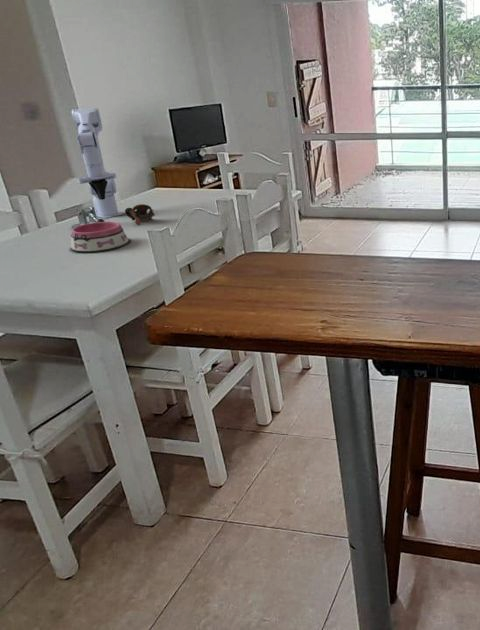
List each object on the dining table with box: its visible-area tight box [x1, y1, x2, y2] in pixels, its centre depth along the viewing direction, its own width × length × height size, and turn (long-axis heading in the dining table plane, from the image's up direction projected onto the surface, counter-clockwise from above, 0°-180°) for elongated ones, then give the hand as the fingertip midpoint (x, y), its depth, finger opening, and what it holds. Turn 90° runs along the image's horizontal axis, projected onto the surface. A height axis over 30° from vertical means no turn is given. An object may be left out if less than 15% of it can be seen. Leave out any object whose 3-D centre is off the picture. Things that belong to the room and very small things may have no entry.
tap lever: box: [82, 207, 106, 222], centre depth 226 cm, size 13×3×3 cm, turn 56°
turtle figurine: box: [124, 203, 156, 226], centre depth 234 cm, size 12×10×8 cm
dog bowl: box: [70, 221, 130, 254], centre depth 204 cm, size 18×19×7 cm
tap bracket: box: [71, 205, 97, 229], centre depth 228 cm, size 10×9×8 cm
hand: (102, 199), depth 229 cm, fingers closed
